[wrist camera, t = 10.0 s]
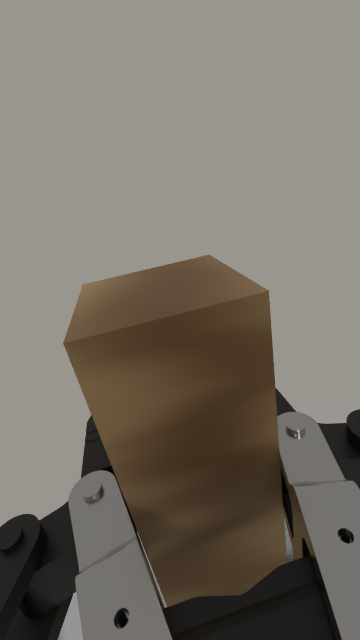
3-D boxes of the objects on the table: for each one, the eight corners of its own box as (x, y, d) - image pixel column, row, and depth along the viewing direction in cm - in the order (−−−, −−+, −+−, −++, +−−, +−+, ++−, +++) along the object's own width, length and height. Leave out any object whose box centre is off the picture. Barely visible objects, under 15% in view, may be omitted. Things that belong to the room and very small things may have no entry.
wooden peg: (191, 669, 11) (63, 343, 5) (172, 553, 15) (82, 284, 9) (291, 629, 12) (268, 290, 6) (248, 526, 15) (209, 254, 10)
